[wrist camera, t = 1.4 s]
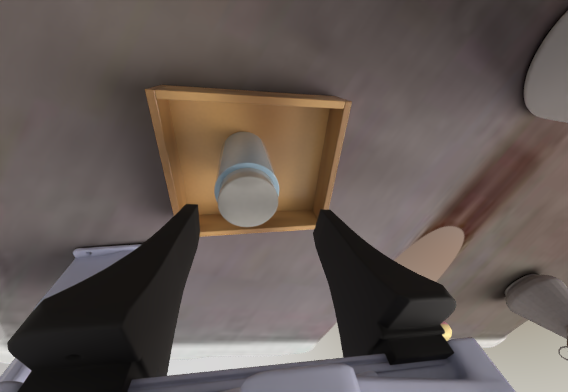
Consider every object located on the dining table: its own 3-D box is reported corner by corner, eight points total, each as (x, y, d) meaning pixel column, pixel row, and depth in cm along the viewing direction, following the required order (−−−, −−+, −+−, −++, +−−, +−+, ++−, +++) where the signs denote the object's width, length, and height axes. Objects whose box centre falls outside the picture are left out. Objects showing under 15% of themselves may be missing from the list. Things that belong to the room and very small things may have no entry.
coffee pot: (554, 271, 49) (663, 341, 37) (513, 301, 54) (597, 373, 42) (503, 258, 42) (616, 340, 30) (460, 295, 47) (542, 379, 34)
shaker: (222, 174, 22) (215, 233, 14) (219, 130, 19) (208, 172, 12) (266, 174, 23) (280, 229, 15) (267, 132, 20) (285, 171, 13)
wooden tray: (185, 216, 24) (178, 238, 21) (160, 84, 17) (144, 88, 14) (314, 210, 27) (324, 228, 24) (335, 96, 20) (352, 101, 17)
